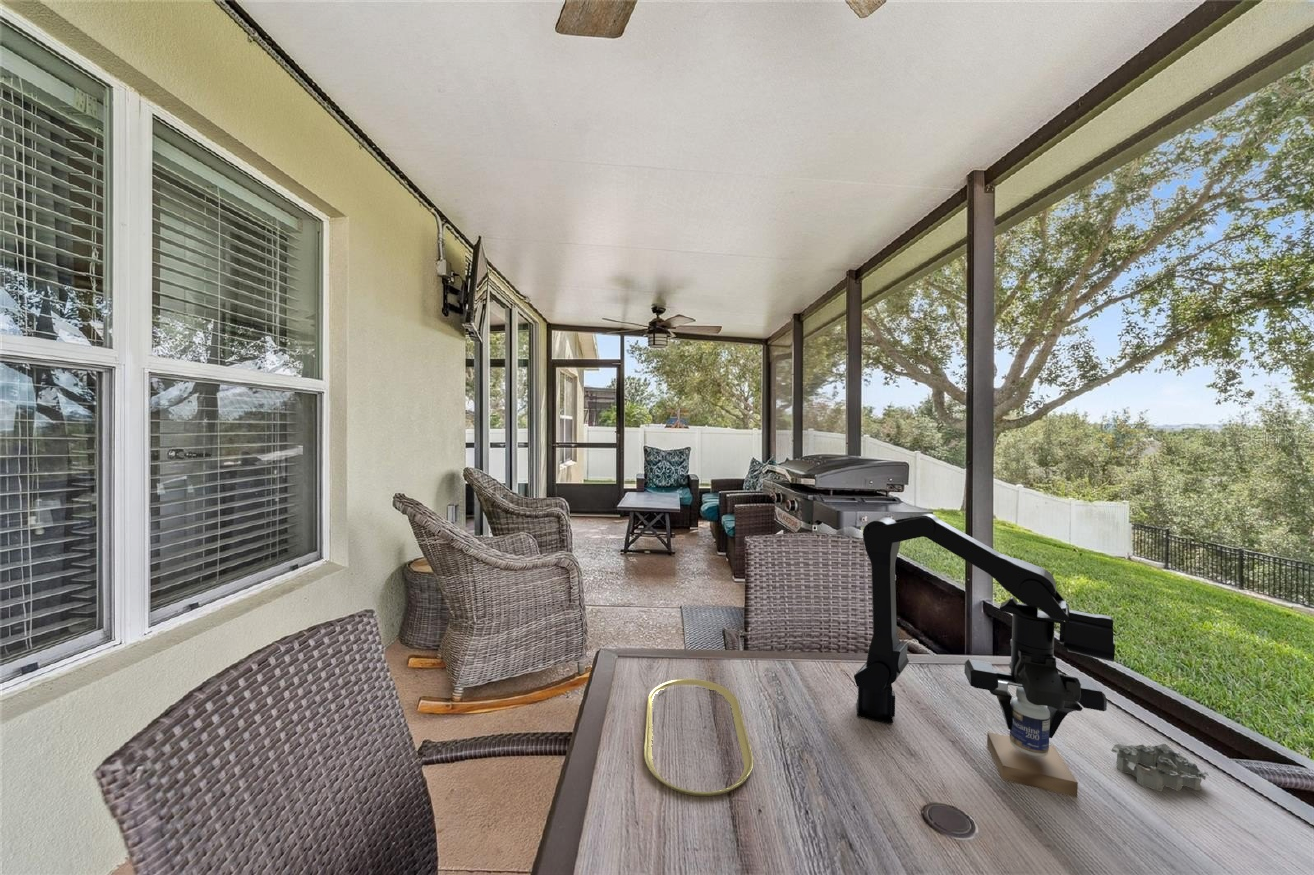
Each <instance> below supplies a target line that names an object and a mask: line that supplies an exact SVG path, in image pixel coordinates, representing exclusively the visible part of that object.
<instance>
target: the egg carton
mask: <svg viewBox="0 0 1314 875" xmlns="http://www.w3.org/2000/svg"><path fill="white" fill-rule="evenodd" d="M1110 751H1111V752H1112V753H1113V754H1116V762H1115V763H1116V768H1117V770H1119V771H1120V772H1122V773H1125V774H1126V773H1127V774H1130V775H1132V776H1133V777H1136V783H1137V784H1140V786H1142V787H1148V788H1151V789H1152V790H1154V791H1158V792H1159V791H1160V792H1162V791H1163V788H1164V787H1168V788H1171V789H1173V790H1174V791H1181V790H1182V787H1183V786H1184V787H1188V788H1191V789H1193V790H1195V791H1201V790H1202V788H1201V783H1202V780H1205V781H1206V777H1207V776H1209V774H1208V772H1206V771H1204V772H1203V771H1201V770H1200V769H1199V768H1198V766H1197V764H1196V763H1192V762H1190V761H1189V760H1188V758H1186V757H1184V756H1183V755H1182V754H1181V753H1180V752H1175V751H1174V750H1173V749H1172V748H1171V747H1170V746H1169V745H1168V744H1167V743H1161V744H1157V745H1153V746H1152V745H1147V746H1145V745H1144V743H1142V744H1138V745H1133V744H1131V745H1123V744H1119V743H1116V744H1114V745H1113V746H1112V748H1111V750H1110ZM1156 763H1157V764H1156ZM1140 764H1141V765H1140ZM1142 765H1143V766H1146V767H1148V768H1146V767H1143V766H1142ZM1156 765H1157V766H1156Z"/></svg>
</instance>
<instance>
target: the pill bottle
mask: <svg viewBox="0 0 1314 875" xmlns="http://www.w3.org/2000/svg"><path fill="white" fill-rule="evenodd" d="M1011 714H1012V729H1011V730H1009V736H1010V742H1011V744H1012V745H1013V746H1014V747H1015V748H1017V749H1018V750H1020V751H1022V752H1024V753H1026V754H1029V755H1032V756H1038V757H1042V756H1046V755H1047V754H1048V751H1049V745H1050V738H1049V732H1050V711H1049V709H1048V708H1047V706H1044V705H1034V704H1032V703H1030V702H1029V701H1028V700H1027V698H1026V694H1025V691H1024V689H1023V687H1019V686H1016V690H1015V697H1014V698H1013V699H1011Z"/></svg>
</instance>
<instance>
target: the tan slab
mask: <svg viewBox="0 0 1314 875" xmlns="http://www.w3.org/2000/svg"><path fill="white" fill-rule="evenodd" d="M986 733H987V734H986V736H987V738H986V740H987V741H986V744H987V745H986V747H987V748H988V750H989V752H990V755H991V757H992V759H993V761H994V764H995V766H996V768H997V770H998V773H999V776H1000V777H1001V780H1002V781H1006V782H1010V783H1013V784H1014V783H1015V784H1018V785H1022V786H1025V787H1026V786H1027V787H1031V788H1036V789H1040V790H1044V791H1047V792H1048V791H1049V792H1052V793H1057V794H1062V795H1066V796H1070V797H1074V798H1078V794H1079V793H1078V788H1079V787H1078V786H1079V785H1078V784H1079V782H1078V780H1077V779H1076V777H1075V776H1074V774H1073V773H1072V771H1071V769H1070V768H1069V767H1068V765H1067V763H1066V762H1065V761H1064V759H1063V757H1062V756H1061V755H1060V753H1059V750H1057V748H1056V747H1055V745H1052V744H1049V751H1048V754H1047V755H1046V756H1042V757H1038V756H1032V755H1029V754H1026V753H1024V752H1022V751H1020V750H1018V749H1017V748H1015V747H1014V746H1013V745H1012V744H1011V742H1010V735H1006V734H1005V735H1004V734H1001V733H996V732H995V733H994V732H992V731H991V732H990V731H987V732H986Z"/></svg>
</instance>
